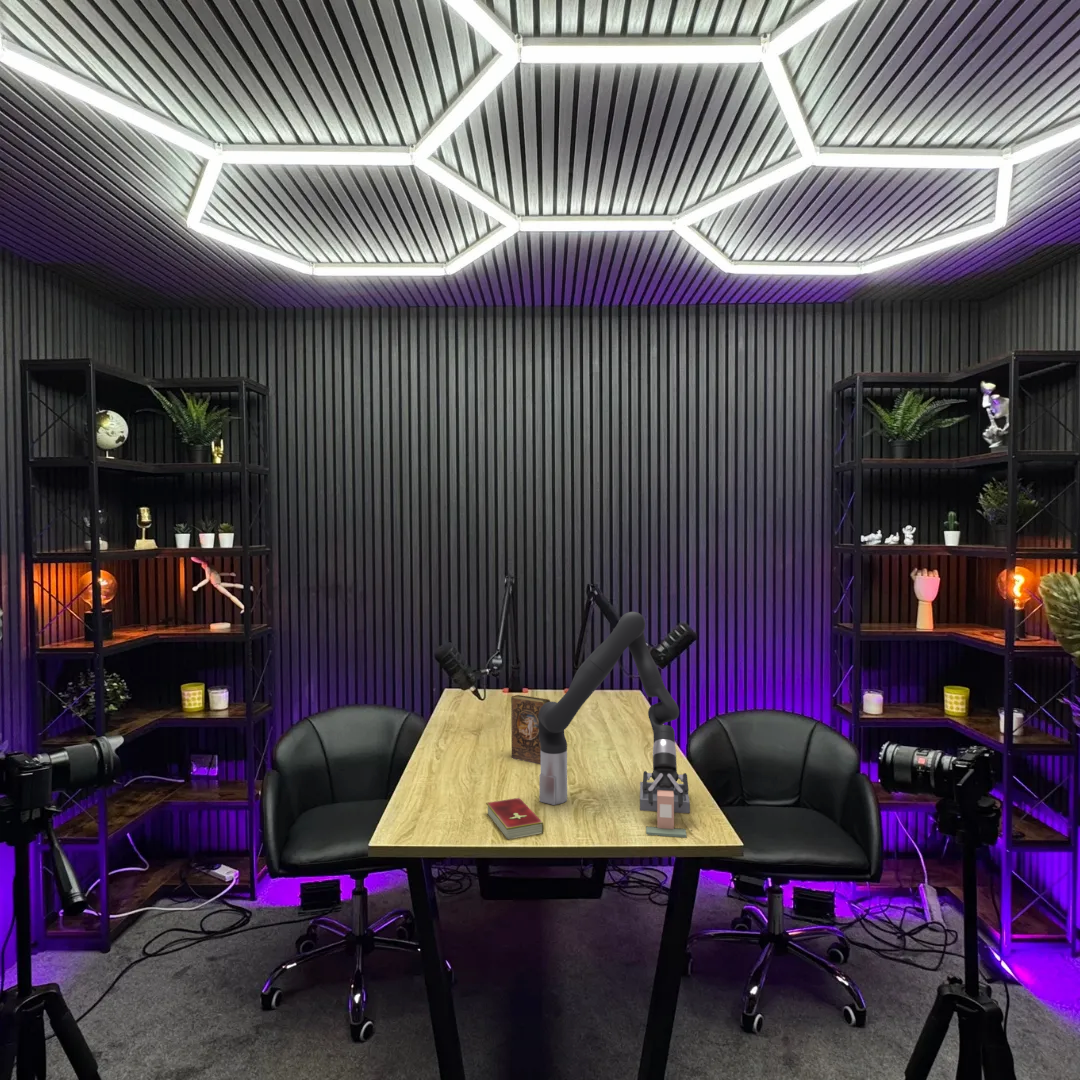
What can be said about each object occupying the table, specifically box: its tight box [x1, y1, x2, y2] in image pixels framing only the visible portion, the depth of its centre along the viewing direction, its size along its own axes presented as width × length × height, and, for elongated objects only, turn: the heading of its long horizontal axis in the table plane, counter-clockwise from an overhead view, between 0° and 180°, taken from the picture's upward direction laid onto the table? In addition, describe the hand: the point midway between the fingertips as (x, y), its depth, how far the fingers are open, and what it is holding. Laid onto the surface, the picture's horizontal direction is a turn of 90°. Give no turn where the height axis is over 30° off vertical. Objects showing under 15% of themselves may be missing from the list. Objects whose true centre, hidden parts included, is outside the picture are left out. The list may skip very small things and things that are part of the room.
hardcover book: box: [485, 797, 545, 840], centre depth 213 cm, size 12×21×4 cm, turn 22°
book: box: [510, 694, 551, 765], centre depth 273 cm, size 16×6×25 cm, turn 59°
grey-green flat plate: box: [645, 826, 687, 839], centre depth 209 cm, size 12×12×1 cm
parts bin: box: [639, 781, 691, 814], centre depth 227 cm, size 16×16×4 cm
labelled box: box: [656, 790, 675, 829], centre depth 209 cm, size 5×5×10 cm
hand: (665, 805), depth 208 cm, fingers open, 8 cm apart
